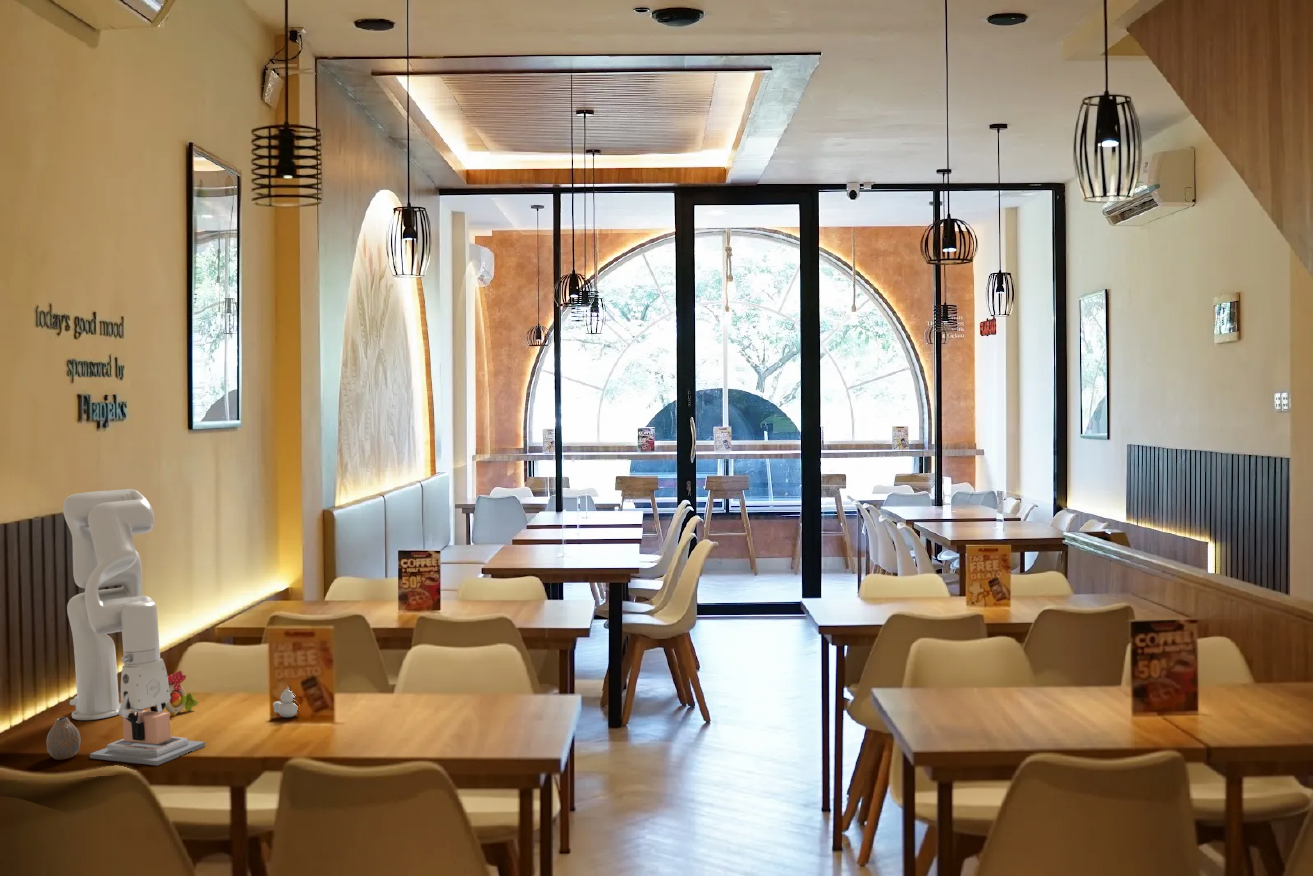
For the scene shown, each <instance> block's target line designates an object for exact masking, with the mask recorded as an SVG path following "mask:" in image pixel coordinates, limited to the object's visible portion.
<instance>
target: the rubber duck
mask: <svg viewBox="0 0 1313 876" xmlns="http://www.w3.org/2000/svg"><path fill="white" fill-rule="evenodd" d="M289 689H290V686H289V687H288V686H287V688H285V689H284V690H283V692H282V693H281V694H280V697H279V698H280V700H281V701H279V700H278V701H277V700H276V701H274V702H273V703H272V707H273V712H274V713H278V714H279V716H281V717H282V718H293V717H295V716H296V715H297V714H298V713H297V710H298V706H297V705H296V704H295V703H293V702H292V701H293V700H294V701H295V699H296V697H295V696H296V695H295V694H294V692H293V690H292V691H290V690H289ZM292 692H293V693H292ZM293 694H294V695H295V696H294V695H293ZM293 698H295V699H293ZM281 702H282V703H281ZM296 713H297V714H296ZM295 714H296V715H295ZM294 715H295V716H294Z"/></svg>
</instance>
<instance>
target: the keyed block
mask: <svg viewBox="0 0 1313 876" xmlns="http://www.w3.org/2000/svg"><path fill="white" fill-rule="evenodd" d="M135 715H136V712H135ZM170 716H171V715H170V713H169V712H166V711H165V712H164V711H163V712H155V711H149V710H145V709H144V710H143V711H142V722H144V732H145V740H142V741H140V740H133V738H132V724H131V723H129V721H128V720H127V719H126V718H125V717H123V716H121V717H122V730H123V731H122V732H123V734H122V735H123V739H124V741H131V742H140V743H150V744H159V743H162V742H164V741H167V740H170V739H171V736H172V735H171V719H170Z"/></svg>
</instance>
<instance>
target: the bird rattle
mask: <svg viewBox="0 0 1313 876" xmlns="http://www.w3.org/2000/svg"><path fill="white" fill-rule="evenodd" d="M167 677H168V684H169V683H170V684H169V695H170V696H171V699H170V700H169V701H168V703H167V704H166V706H165V708H164V710H166V711H167V713H169V715H170V716H171V717H175V716H176V715H177V714H178V713H179V712H180V713H181V711H182V710H183V709H184V708H185V710H186V711H189V712H190V711H192V709H193V707H195V706H198V705H199V701H197V699H195V698H194V696H193V693H192V692H188V693H186V690H185V689H184V687H183V686H182V685H181V683H183V682H184V681H185V680H186V678H187V675H186V674H183V670H178V671H176V672H174V673H172V674H171V673H170V674H169V675H167Z"/></svg>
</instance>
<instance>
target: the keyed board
mask: <svg viewBox="0 0 1313 876" xmlns="http://www.w3.org/2000/svg"><path fill="white" fill-rule="evenodd" d="M205 747H206V742H205V741H199V740H191V739H190V740H189V737H182V736H172V735H171V739H170V740H167V741H164V742H162V743H159V744H150V743H140V742H131V741H124V738H121V739H118V740H115V741H113V742H111V743H108V744H106V747H105V748H102V749H100V750H96V751H94V752H91V753H89V758H90V759H95V760H105V761H112V762H113V761H114V762H123V763H129V764H139V765H140V764H142V765H150V766H160V765H162V764H165V763H167V762H170V761H172V760H175V759H177V758H180V757H181V756H180V755H182V756H184V755H183V754H185V753H187V754H189V753H188V752H190V751H192V752H195V751H197V750H199V749H202V748H205ZM190 753H191V752H190ZM185 755H186V754H185ZM179 756H180V757H179Z"/></svg>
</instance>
